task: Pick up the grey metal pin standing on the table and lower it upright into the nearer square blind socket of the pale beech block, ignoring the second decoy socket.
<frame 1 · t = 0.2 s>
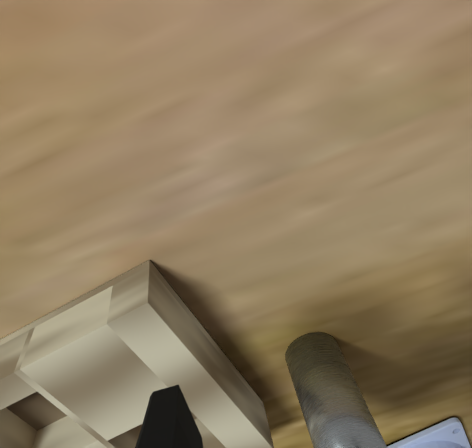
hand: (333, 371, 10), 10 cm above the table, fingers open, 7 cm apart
pin: (311, 352, 24), on the table
socket block: (115, 389, 23), on the table
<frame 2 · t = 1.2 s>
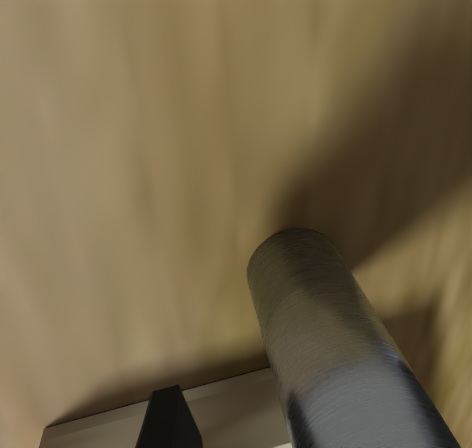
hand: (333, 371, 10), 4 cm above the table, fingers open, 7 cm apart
pin: (293, 269, 14), on the table
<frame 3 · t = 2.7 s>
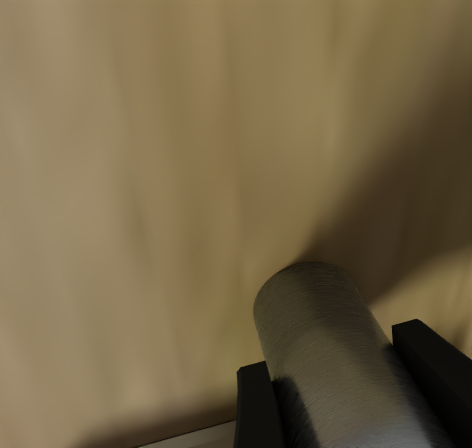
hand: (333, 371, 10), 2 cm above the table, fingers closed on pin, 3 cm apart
pin: (304, 306, 12), on the table, touching gripper
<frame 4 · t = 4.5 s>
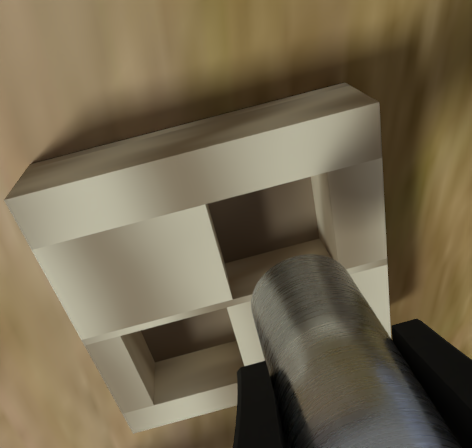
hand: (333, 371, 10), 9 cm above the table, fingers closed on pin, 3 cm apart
pin: (302, 298, 13), point 6 cm above the table, touching gripper
socket block: (225, 253, 19), on the table
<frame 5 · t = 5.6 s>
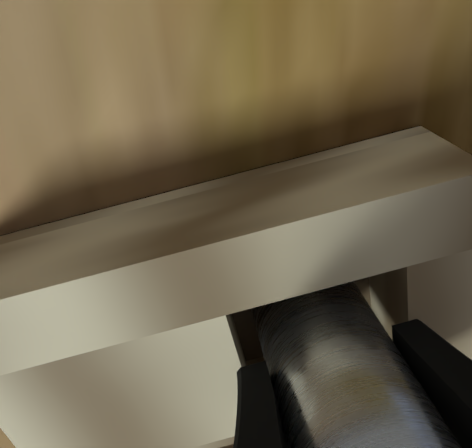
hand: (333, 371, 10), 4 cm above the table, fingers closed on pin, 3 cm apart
pin: (302, 298, 13), point 1 cm above the table, touching gripper
socket block: (245, 345, 14), on the table
when the fingers open (3 cm above the table, at t = 6.4 s): pin stays where it is, resting on socket block.
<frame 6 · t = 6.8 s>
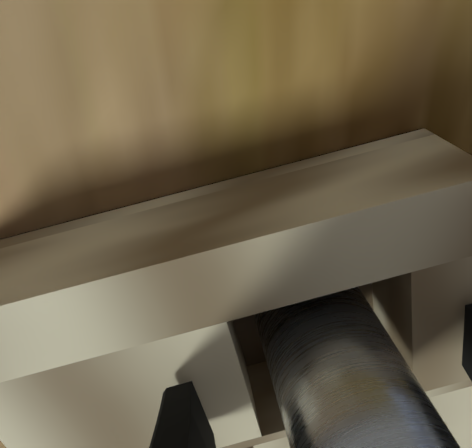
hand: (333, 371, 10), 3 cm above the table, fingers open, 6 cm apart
pin: (302, 296, 13), point 1 cm above the table, touching socket block
socket block: (246, 350, 14), on the table
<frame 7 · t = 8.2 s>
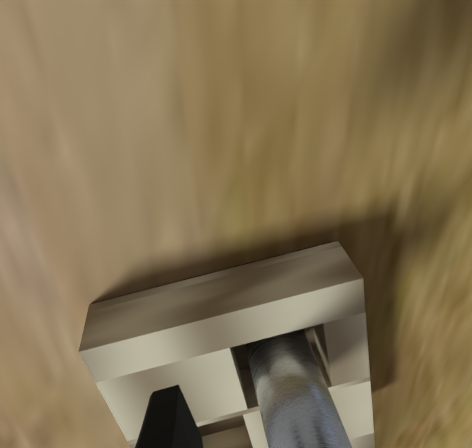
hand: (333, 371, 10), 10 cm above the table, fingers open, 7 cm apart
pin: (272, 329, 22), point 1 cm above the table, touching socket block
socket block: (239, 360, 24), on the table
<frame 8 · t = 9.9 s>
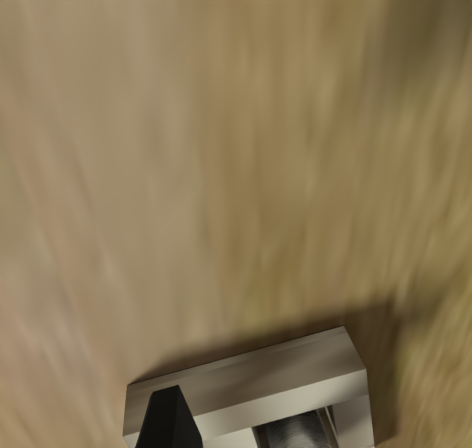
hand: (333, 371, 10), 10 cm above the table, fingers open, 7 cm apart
pin: (286, 400, 25), point 1 cm above the table, touching socket block
socket block: (257, 423, 26), on the table
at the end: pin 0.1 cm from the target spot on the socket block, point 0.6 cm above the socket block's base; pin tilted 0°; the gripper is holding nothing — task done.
